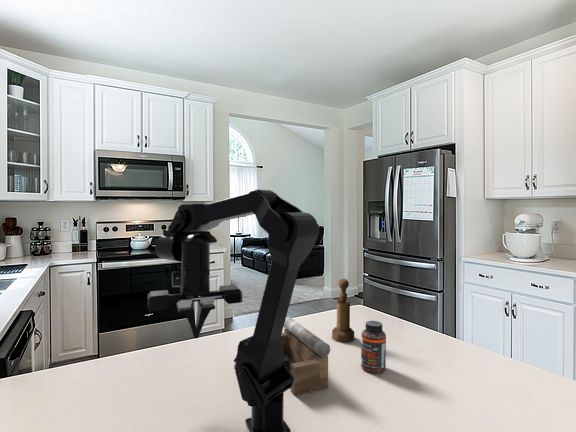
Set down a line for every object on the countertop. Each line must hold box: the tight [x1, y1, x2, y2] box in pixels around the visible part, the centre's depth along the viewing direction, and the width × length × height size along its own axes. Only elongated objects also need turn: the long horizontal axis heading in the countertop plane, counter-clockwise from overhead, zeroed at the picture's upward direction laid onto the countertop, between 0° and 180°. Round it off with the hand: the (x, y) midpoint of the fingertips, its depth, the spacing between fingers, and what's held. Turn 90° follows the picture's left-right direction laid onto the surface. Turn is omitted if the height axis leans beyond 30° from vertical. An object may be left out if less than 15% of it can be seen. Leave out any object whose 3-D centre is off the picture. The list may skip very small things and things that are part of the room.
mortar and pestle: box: [331, 278, 355, 343], centre depth 107 cm, size 7×6×18 cm
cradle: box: [280, 316, 331, 397], centre depth 85 cm, size 20×8×10 cm, turn 23°
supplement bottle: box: [360, 320, 387, 374], centre depth 87 cm, size 6×6×11 cm
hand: (195, 337), depth 75 cm, fingers closed
